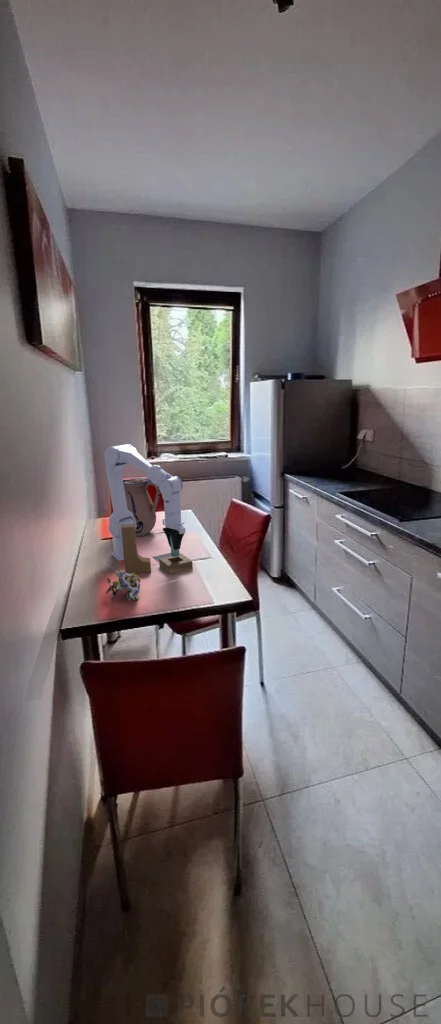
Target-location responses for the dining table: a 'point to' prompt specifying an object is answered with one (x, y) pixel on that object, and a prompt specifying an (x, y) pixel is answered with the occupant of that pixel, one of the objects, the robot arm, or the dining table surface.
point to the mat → (161, 556)
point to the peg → (174, 552)
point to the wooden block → (133, 552)
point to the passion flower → (126, 585)
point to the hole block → (175, 564)
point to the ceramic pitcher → (141, 504)
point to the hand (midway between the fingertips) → (174, 547)
